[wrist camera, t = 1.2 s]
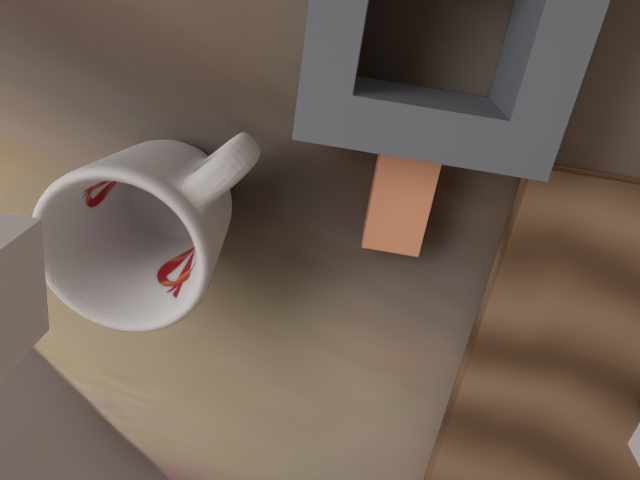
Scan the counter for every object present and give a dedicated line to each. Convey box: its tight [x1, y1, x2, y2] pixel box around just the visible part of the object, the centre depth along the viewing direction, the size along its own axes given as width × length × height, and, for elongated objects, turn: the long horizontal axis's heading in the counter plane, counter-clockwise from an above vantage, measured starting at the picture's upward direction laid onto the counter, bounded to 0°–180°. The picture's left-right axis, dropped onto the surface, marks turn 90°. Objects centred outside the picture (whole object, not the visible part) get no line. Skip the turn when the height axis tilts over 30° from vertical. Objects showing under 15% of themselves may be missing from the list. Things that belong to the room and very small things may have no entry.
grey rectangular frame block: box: [292, 0, 610, 257], centre depth 24 cm, size 17×11×5 cm, turn 172°
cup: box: [32, 133, 260, 332], centre depth 27 cm, size 11×8×8 cm
